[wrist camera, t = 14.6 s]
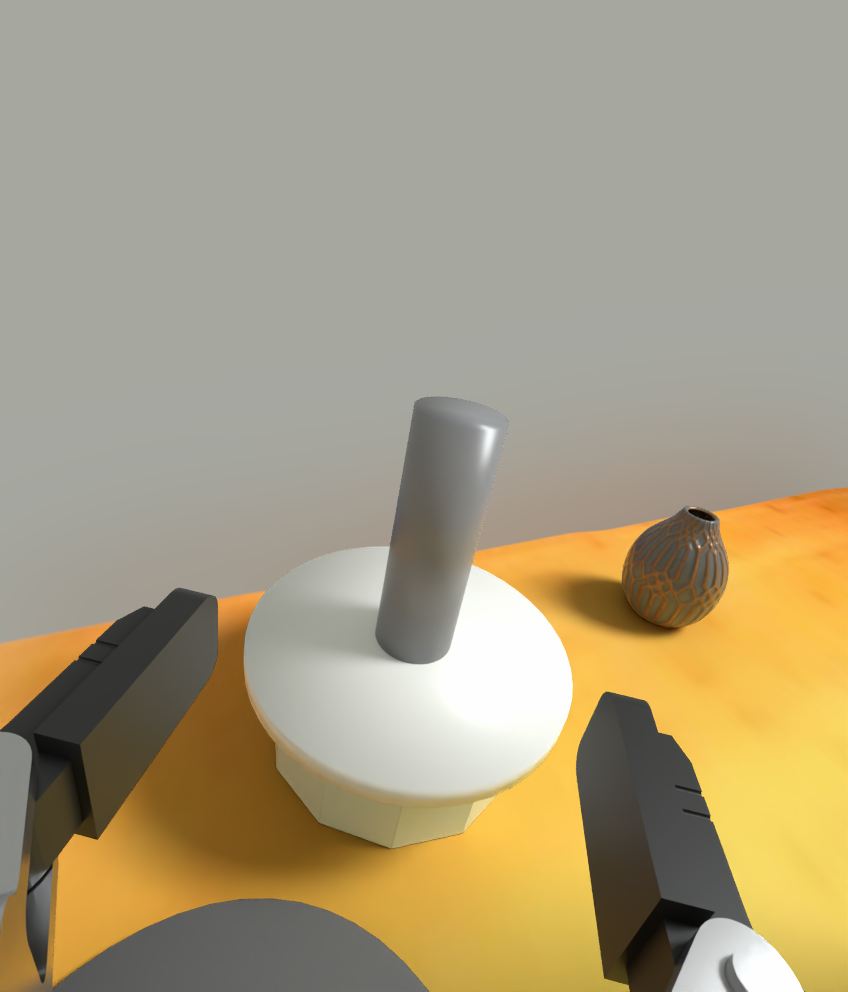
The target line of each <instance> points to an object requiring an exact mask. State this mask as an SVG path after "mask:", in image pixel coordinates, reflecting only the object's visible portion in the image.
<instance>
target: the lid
mask: <svg viewBox="0 0 848 992" xmlns="http://www.w3.org/2000/svg"><path fill="white" fill-rule="evenodd" d="M508 425H509V420H508V419H507V418H506V417H505V416H504V415H503V414H501V413H500V412H498V411H496V410H494V409H492V408H490V407H487V406H484V405H481V404H478V403H475V402H471V401H467V400H462V399H457V398H449V397H426V398H421V399H419V400H417V401H416V402H415V404H414V409H413V415H412V421H411V427H410V433H409V439H408V444H407V450H406V457H405V462H404V467H403V474H402V479H401V485H400V491H399V496H398V502H397V508H396V514H395V520H394V525H393V531H392V537H391V543H390V547H389V546H388V547H386V546H376V547H361V548H353V549H347V550H342V551H338V552H333V553H330V554H326V555H323V556H321V557H317V558H315V559H312V560H310V561H308V562H306V563H303V564H302V565H300V566H298V567H296V568H294V569H293V570H291V571H289V572H288V573H287V574H285V575H284V576H282V577H281V578H280V579H278V580H277V581H276V582H275V583H274V584H273V585H272V586H271V587H270V588H269V589H268V590H267V591H266V592H265V594H264V595H263V596H262V598H261V599H260V600H259V602H258V603H257V605H256V607H255V609H254V611H253V613H252V615H251V617H250V620H249V623H248V626H247V630H246V635H245V644H244V676H245V685H246V689H247V692H248V696H249V700H250V703H251V705H252V707H253V709H254V711H255V713H256V715H257V718H258V720H259V721H260V723H261V724H262V726H263V727H264V729H265V730H266V732H267V733H268V734H269V736H270V737H271V739H272V740H273V741H274V742H275V743H276V744H277V745H278V746H279V747H280V748H281V749H282V750H283V751H284V752H285V754H286V755H287V756H289V757H290V758H291V759H292V760H294V761H295V762H296V763H297V764H299V765H300V766H301V767H302V768H304V769H305V770H306V771H308V772H309V773H311V774H313V775H314V776H316V777H318V778H319V779H321V780H323V781H324V782H326V783H328V784H330V785H331V786H334V787H336V788H339V789H341V790H343V791H346V792H348V793H350V794H353V795H355V796H358V797H362V798H365V799H369V800H372V801H376V802H380V803H383V804H390V805H397V806H404V807H411V808H442V807H450V806H458V805H465V804H469V803H473V802H476V801H480V800H484V799H487V798H490V797H492V796H495V795H497V794H499V793H501V792H504V791H506V790H508V789H510V788H512V787H513V786H515V785H516V784H518V783H519V782H521V781H522V780H524V779H525V778H527V777H528V776H529V775H530V774H531V773H532V772H534V771H535V770H536V769H537V768H538V767H539V766H540V765H541V764H542V763H543V762H544V760H545V759H546V757H547V756H548V755H549V753H550V752H551V751H552V749H553V748H554V746H555V744H556V741H557V739H558V737H559V735H560V733H561V730H562V728H563V726H564V724H565V721H566V719H567V717H568V713H569V709H570V705H571V701H572V686H573V683H572V675H571V668H570V664H569V661H568V658H567V654H566V652H565V649H564V647H563V645H562V643H561V641H560V639H559V637H558V635H557V634H556V632H555V631H554V629H553V627H552V626H551V624H550V623H549V622H548V621H547V619H546V618H545V617H544V616H543V614H542V613H541V612H540V611H539V610H538V609H537V608H536V607H535V606H534V605H533V604H532V603H531V602H530V601H529V600H528V599H527V598H525V597H524V596H523V595H522V594H521V593H519V592H518V591H517V590H516V589H514V588H513V587H511V586H510V585H508V584H507V583H506V582H504V581H503V580H501V579H499V578H497V577H496V576H494V575H492V574H491V573H489V572H487V571H485V570H482V569H480V568H478V567H476V566H474V565H472V563H473V559H474V555H475V551H476V547H477V544H478V540H479V536H480V532H481V528H482V525H483V520H484V517H485V513H486V509H487V505H488V502H489V497H490V494H491V490H492V486H493V483H494V479H495V475H496V471H497V467H498V464H499V460H500V456H501V452H502V448H503V444H504V441H505V437H506V433H507V429H508Z"/></svg>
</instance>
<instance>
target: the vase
mask: <svg viewBox="0 0 848 992" xmlns="http://www.w3.org/2000/svg"><path fill="white" fill-rule="evenodd" d="M728 574H729V562H728V557H727V553H726V550H725V547H724V544H723V541H722V539H721V535H720V522H719V518H718V517H717V516H716V515H714V514H713V513H711V512H709V511H707V510H705V509H702V508H699V507H695V506H686V507H684V508H683V509H682V510H681V511H679V512H678V513H677V514H676V515H674V516H672V517H670V518H668V519H666V520H664V521H662V522H659V523H657V524H655V525H653V526H651V527H650V528H648V529H647V530H646V531H644V532H643V533H642V534H641V535H640V536H639V537H638V538H637V540H636V541H635V542H634V543H633V545H632V546H631V548H630V550H629V552H628V554H627V557H626V559H625V562H624V566H623V571H622V585H623V590H624V593H625V596H626V598H627V600H628V602H629V604H630V605H631V607H632V608H633V610H634V611H635V612H636V613H637V614H638V615H640V616H641V617H642V618H644V619H646V620H647V621H649V622H651V623H653V624H656V625H659V626H663V627H669V628H675V627H683V626H688V625H691V624H694V623H696V622H698V621H699V620H701V619H703V618H704V617H705V616H706V615H708V614H709V613H710V612H711V611H712V610H713V609H714V607H715V606H716V605H717V603H718V602H719V600H720V598H721V597H722V595H723V593H724V591H725V588H726V585H727V580H728Z"/></svg>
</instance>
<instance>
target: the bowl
mask: <svg viewBox="0 0 848 992" xmlns="http://www.w3.org/2000/svg"><path fill="white" fill-rule="evenodd" d="M275 751H276V768H277V770H278V771H279V772H280V774H281V775H282V776H283V777H284V779H285V780H286V781H287V783H288V784H289V785H290V786H291V788H292V789H293V790H294V792H295V793H296V794H297V795H298V797H299V798H300V799H301V800H302V802H303V803H304V804H305V806H306V807H307V808H308V809H309V811H310V812H311V813H312V815H313V816H314V817H315V818H316V820H317V821H318V822H319V823H321V824H324V825H327V826H329V827H332V828H335V829H338V830H340V831H343V832H346V833H349V834H352V835H354V836H357V837H360V838H363V839H365V840H368V841H371V842H374V843H377V844H379V845H382V846H385V847H388V848H391V849H392V848H397V847H402V846H406V845H411V844H415V843H420V842H425V841H429V840H434V839H438V838H443V837H447V836H452V835H457V834H461V833H463V832H464V831H465V830H466V829H467V828H468V827H469V825H470V824H471V823H472V822H473V821H474V820H475V819H476V818H477V817H478V816H479V814H480V813H481V812H482V811H483V810H484V809H485V808H486V807H487V806H488V805H489V803H490V802H491V801H492V800H493V799H494V798H495V797H496V796H497V795H498V794H497V795H495V796H492V797H490V798H487V799H484V800H480V801H476V802H473V803H469V804H465V805H458V806H450V807H442V808H411V807H404V806H397V805H390V804H383V803H380V802H376V801H372V800H369V799H365V798H362V797H358V796H355V795H353V794H350V793H348V792H346V791H343V790H341V789H339V788H336V787H334V786H331V785H330V784H328V783H326V782H324V781H323V780H321V779H319V778H318V777H316V776H314V775H313V774H311V773H309V772H308V771H306V770H305V769H304V768H302V767H301V766H300V765H299V764H297V763H296V762H295V761H294V760H292V759H291V758H290V757H289V756H287V755H286V754H285V752H284V751H283V750H282V749H281V748H280V747H279V746H278V745H277V744H276V743H275Z"/></svg>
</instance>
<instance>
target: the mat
mask: <svg viewBox="0 0 848 992" xmlns="http://www.w3.org/2000/svg"><path fill="white" fill-rule="evenodd" d="M52 992H429V991H428V989H427V988H426V987H425V986H424V985H423V983H422V982H421V981H420V980H419V979H418V978H417V976H416V975H415V974H414V973H413V972H412V971H411V969H410V968H409V967H408V966H407V965H406V964H405V962H404V961H403V960H401V959H400V958H399V957H398V956H397V955H396V954H395V953H394V952H393V951H391V950H390V949H389V948H388V947H387V946H386V945H385V944H384V943H383V942H381V941H380V940H379V939H378V938H376V937H375V936H373V935H372V934H370V933H369V932H367V931H366V930H364V929H363V928H361V927H360V926H358V925H357V924H355V923H353V922H351V921H349V920H347V919H345V918H343V917H341V916H339V915H337V914H334V913H332V912H330V911H328V910H325V909H321V908H318V907H315V906H311V905H308V904H304V903H301V902H294V901H287V900H279V899H239V900H233V901H227V902H221V903H214V904H209V905H206V906H203V907H199V908H196V909H192V910H189V911H186V912H182V913H179V914H176V915H174V916H172V917H169V918H167V919H165V920H162V921H160V922H158V923H155V924H153V925H151V926H148V927H146V928H144V929H142V930H140V931H138V932H137V933H135V934H133V935H131V936H129V937H128V938H126V939H124V940H122V941H121V942H119V943H117V944H115V945H113V946H112V947H110V948H108V949H107V950H105V951H104V952H102V953H101V954H99V955H98V956H96V957H95V958H94V959H92V960H91V961H89V962H88V963H86V964H85V965H83V966H82V967H81V968H79V969H78V970H76V971H75V972H73V973H72V974H70V975H69V976H68V977H67V978H66V979H64V980H63V981H62V982H61V983H59V984H58V985H57V986H56V987H55V988H53V989H52Z"/></svg>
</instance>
